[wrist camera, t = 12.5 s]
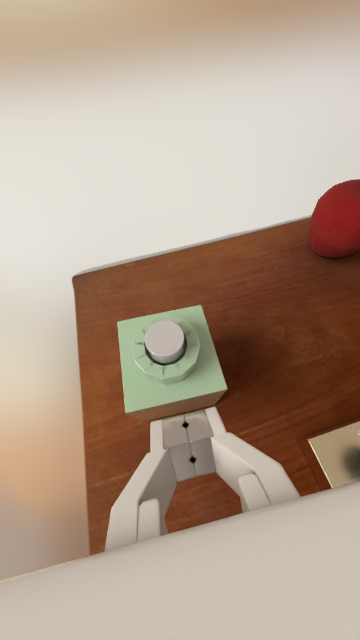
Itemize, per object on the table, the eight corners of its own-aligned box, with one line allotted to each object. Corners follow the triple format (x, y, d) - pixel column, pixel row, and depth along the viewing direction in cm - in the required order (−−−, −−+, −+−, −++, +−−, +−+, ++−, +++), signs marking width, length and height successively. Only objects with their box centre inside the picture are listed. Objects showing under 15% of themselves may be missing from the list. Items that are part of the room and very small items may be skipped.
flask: (214, 405, 32) (232, 384, 19) (146, 421, 31) (118, 410, 18) (197, 342, 36) (202, 293, 24) (137, 355, 35) (110, 311, 23)
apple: (336, 281, 41) (396, 219, 30) (283, 249, 45) (317, 184, 34) (366, 249, 45) (430, 182, 33) (315, 222, 49) (355, 155, 37)
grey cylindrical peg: (188, 359, 21) (188, 351, 19) (150, 367, 21) (147, 360, 19) (180, 326, 23) (179, 316, 21) (145, 333, 22) (141, 324, 20)
